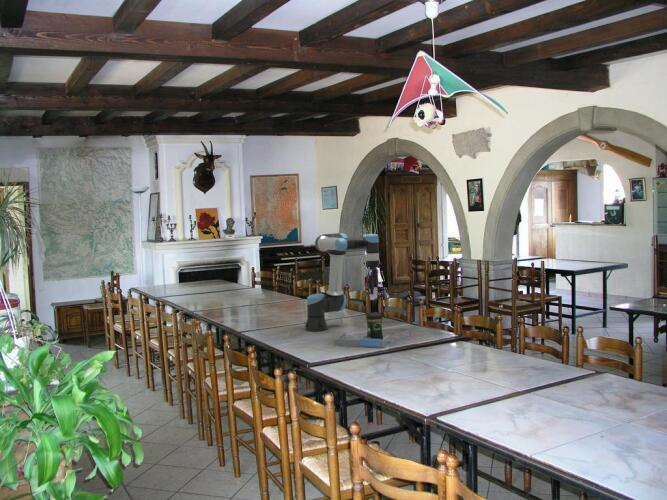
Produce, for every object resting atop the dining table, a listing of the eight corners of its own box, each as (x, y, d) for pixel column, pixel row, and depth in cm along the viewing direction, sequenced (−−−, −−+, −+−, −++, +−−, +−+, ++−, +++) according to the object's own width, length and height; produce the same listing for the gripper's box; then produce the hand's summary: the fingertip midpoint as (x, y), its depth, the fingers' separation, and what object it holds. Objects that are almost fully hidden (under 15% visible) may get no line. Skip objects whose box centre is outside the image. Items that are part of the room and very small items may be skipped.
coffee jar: (378, 340, 395) (378, 310, 394) (385, 343, 388) (384, 312, 386) (364, 342, 391) (363, 312, 390) (370, 345, 384) (369, 314, 382)
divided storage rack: (343, 339, 403) (342, 331, 402) (390, 341, 393) (390, 333, 392) (333, 345, 386) (333, 337, 386) (383, 348, 376) (383, 340, 376)
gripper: (370, 258, 395) (371, 296, 397) (362, 261, 378) (363, 301, 380) (382, 258, 393) (383, 296, 395) (374, 261, 376) (375, 301, 377)
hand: (373, 298), depth 387 cm, fingers open, 5 cm apart
